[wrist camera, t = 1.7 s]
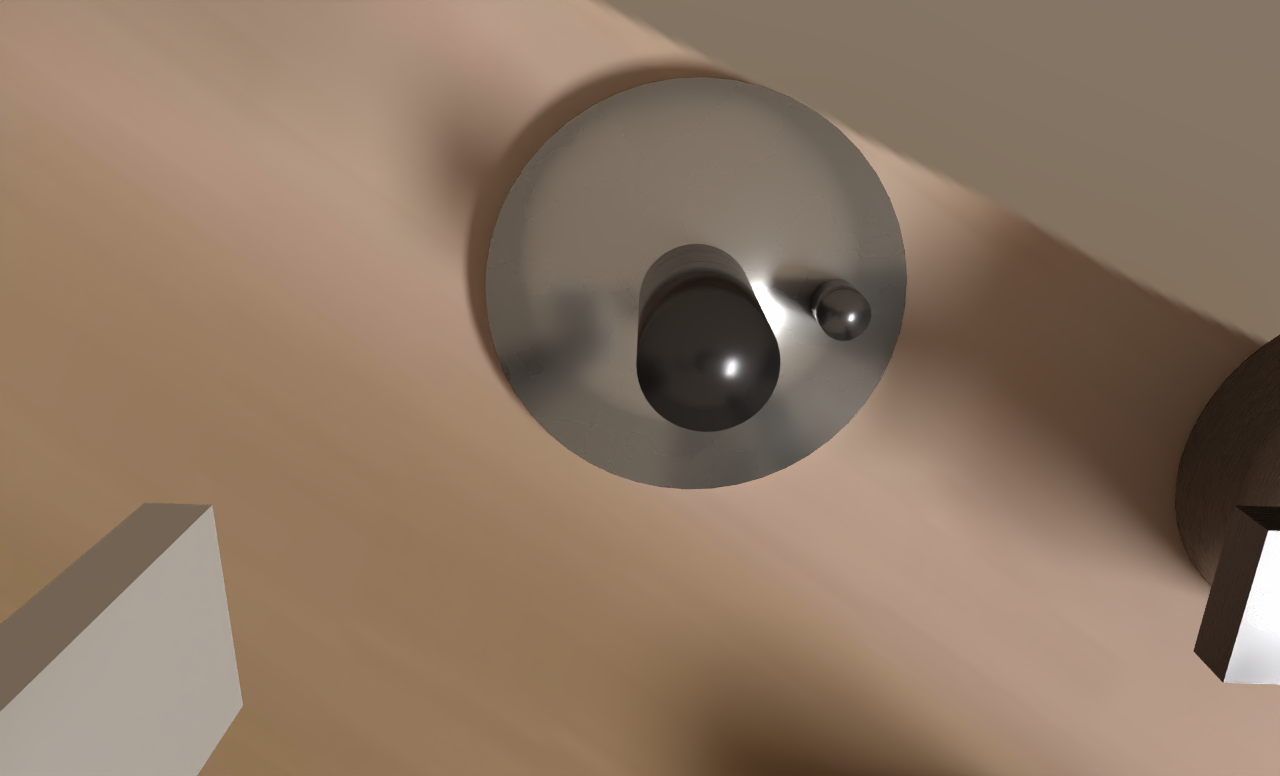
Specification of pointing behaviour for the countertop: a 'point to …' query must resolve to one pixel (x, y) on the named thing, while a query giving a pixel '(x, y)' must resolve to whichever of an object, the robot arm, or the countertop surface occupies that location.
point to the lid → (695, 283)
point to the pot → (1237, 520)
